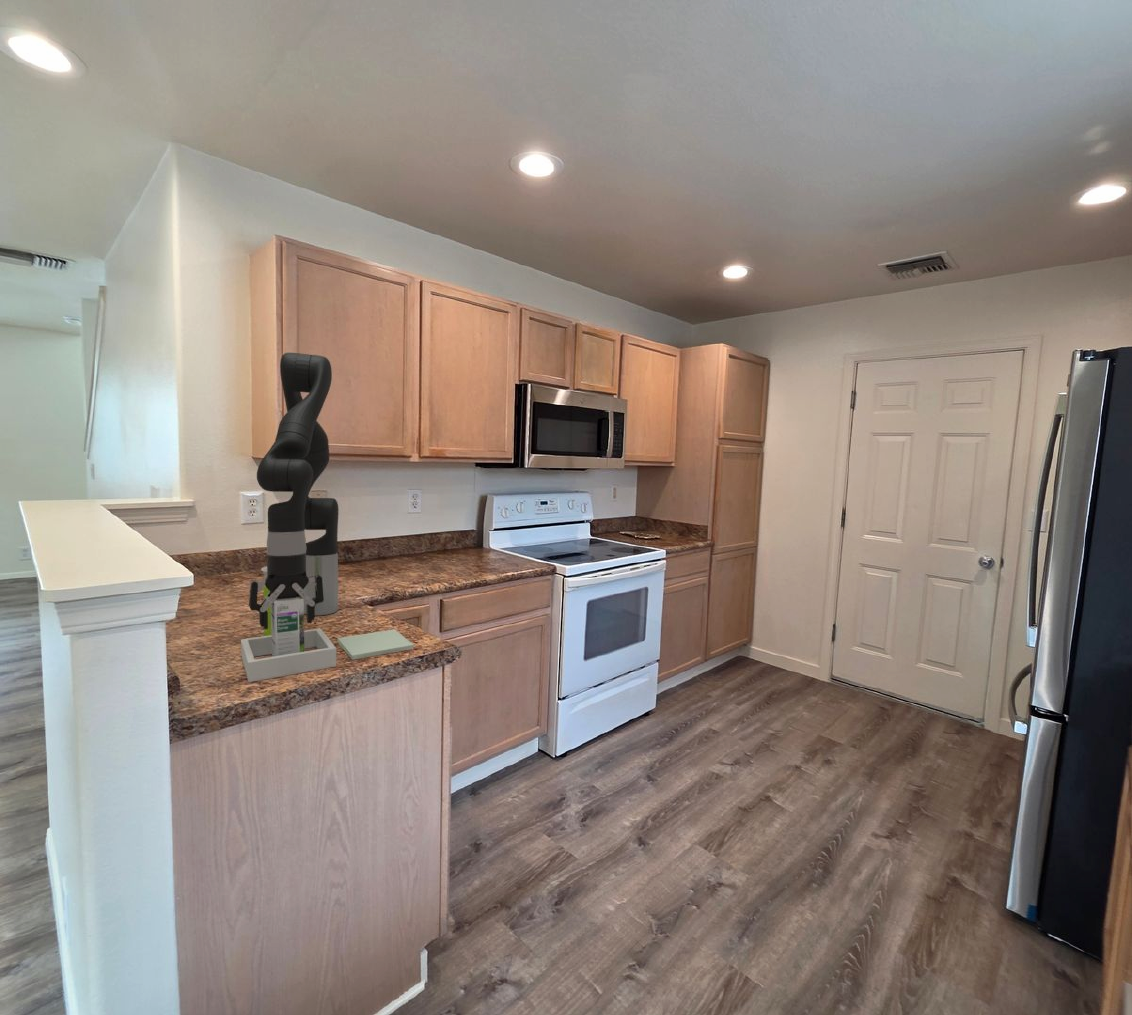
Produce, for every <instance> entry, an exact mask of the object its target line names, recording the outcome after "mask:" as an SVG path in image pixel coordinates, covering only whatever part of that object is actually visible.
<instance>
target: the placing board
mask: <svg viewBox="0 0 1132 1015" xmlns="http://www.w3.org/2000/svg"><path fill="white" fill-rule="evenodd" d="M337 643H338V644H339V646H340V647H341V648H342V649H343V651H344V652H345V653H346V654H347V656H348V657H349V658H350V659H351V660H352V661H353V660H359V659H364V658H371V657H376V656H380V655H388V654H393V653H398V652H399V653H400V652H403V651H410V650H414V646H415V645H414V644H413V643H412V642H411V641H410V640H408V639H407V638H406V637H405V636H403V634H401V633H400V632H399V631H398V630H397V629H395V628H394V629H388V630H382V631H376V632H375V631H374V632H370V633H369V632H368V633H362V634H355V635H349V636H343V637H342V636H341V637H337Z"/></svg>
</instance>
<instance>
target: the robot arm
mask: <svg viewBox="0 0 1132 1015" xmlns="http://www.w3.org/2000/svg"><path fill="white" fill-rule="evenodd" d="M279 373H280V379H281V386H282V392H283V397H284V401H285V402H284V403H285V406H286V407H285V408H286V413H285V414H284V415H283V417H282V418H281V420H280V421H279V425H278V428H277V432H276V436H275V440H274V443H273V444H272V445H271V447H270V448H269V450H268V451H267V453H266V454H265V455H264V457H263V458H262V460H261V461H260V463H259V465H258V468H257V470H256V480H257V483H258V485H259V487H260V488H261V489H263V491H267V492H274V493H276V492H277V493H278V492H279V493H280V492H282V493H283V492H284V493H287V492H288V493H292V495H291V497H290V498H289V500H287V501H283V502H276V503H273V504H270V505H269V506H268V508H267V537H266V538H267V539H266V566H267V578H266V580H265V579H264V580H255V579H253V580H251V581H250V582H249V583H250V584H249V598H248V601H249V602H248V607H249V608H250V610H251V611H255V612H256V611H257V612H258V614H259V619H258V620H259V625H260V627H261V628H263V630H264V629H268V612H267V609H268V607H269V606H270V605H271V604H272V603H273V602H274V601H275V599H276V598H278V599H284V598H294V597H297V596H299V595H300V596H301V597H302V598H303V600H304V615H306V623H307V624H312V621H314V620H315V618H316V616H326V615H332V614H334V613H337V612H338V611H339V557H338V556H339V555H338V554H339V553H338V552H339V550H338V548H339V546H338V532H339V531H338V530H339V529H338V528H339V511H340V510H339V503H338V501H337V499H336V498H334V497H309V496H310V492H311V490H312V487H313V486H314V484H315V483H316V482H317V480H318V478H319V477H320V476H321V475H322V474H323V472H324V471H325V469H326V468H327V466H328V464H329V461H330V446H329V438H328V435H327V433H326V431H325V429H324V428H323V427H322V425H321V424H320V423H319V422H318V418H319V415H320V414H321V411H322V409H323V407H324V405H325V402H326V399H327V398H328V395H329V394H328V393H329V391H330V388H331V384H332V377H333V371H332V365H331V361H330V360H329V358H328V357H326V356H322V355H317V354H310V353H308V354H307V353H300V352H299V353H298V352H284V353H283V354H282V356H281V358H280V364H279ZM301 393H308V394H307V395H306V396H305V397H304V398H303V396H302V394H301ZM306 531H325V533H324V535H322V536H321V537H320V536H319V538H317V539H313V540H310V541H308V542H307V540H306V533H305V532H306ZM263 586H266V588H267V589H268V590H269V591H270V592H269V593H268V594H267V596H266V597H265V599H264V598H263V600H262V601H261V602H260V603H258V592H260V591H262V590H263Z"/></svg>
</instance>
